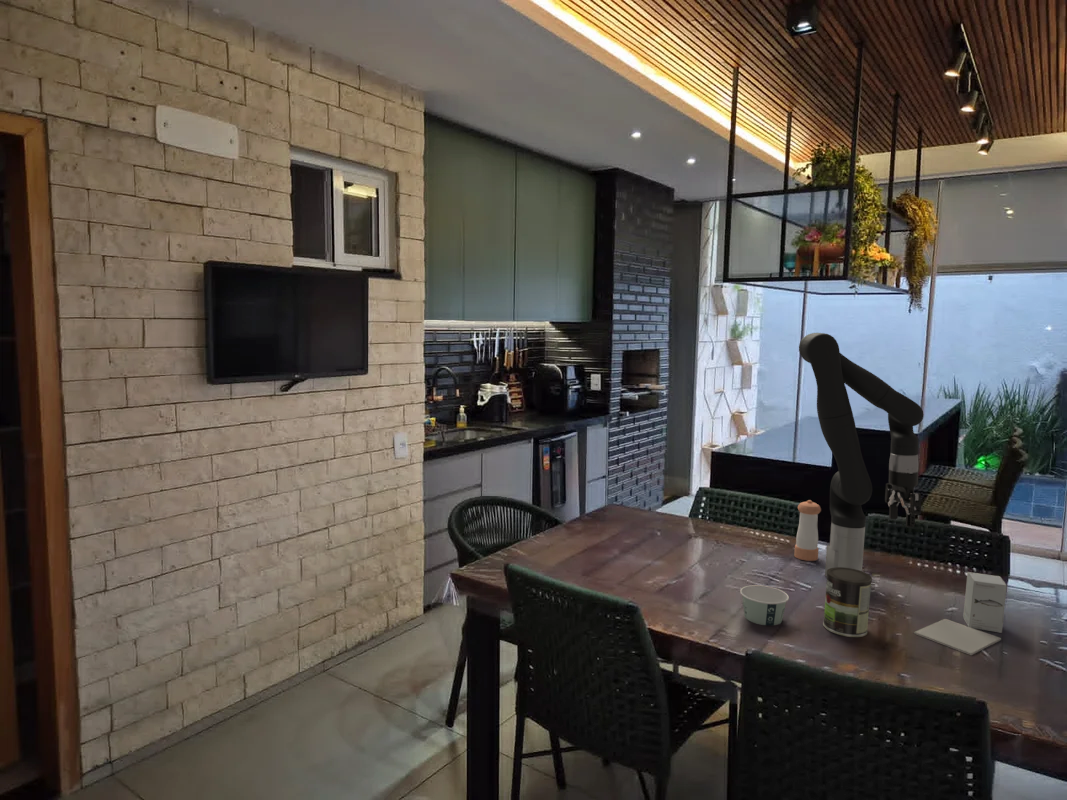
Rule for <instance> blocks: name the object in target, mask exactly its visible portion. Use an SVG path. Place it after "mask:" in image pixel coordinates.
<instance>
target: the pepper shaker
mask: <svg viewBox="0 0 1067 800" xmlns="http://www.w3.org/2000/svg"><path fill="white" fill-rule="evenodd" d="M797 509H798V510H797V511H798V512H799V522H798V527H797V533H796V537H795V538H796V540H795V545H794V552H793V553H794V554H793V556H794V558H796V559H797V560H802V561H805V562H806V561H807V562H815V561H818V559H819V547H818V545H819V530H818V522H819V521H818V517H819V514H820V513H821V512H822V508H821V505H819V504H817V503H816V502H814V501H812V500H811V499H808V500H806V501H802V502H800V503H799V504H798V505H797Z"/></svg>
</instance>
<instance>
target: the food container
mask: <svg viewBox="0 0 1067 800" xmlns="http://www.w3.org/2000/svg"><path fill="white" fill-rule="evenodd" d="M739 593H740V595H741V597H742V606H743V615H744V618H745V619H746V620H747V621H749V622H751V623H753V624H757V625H762V626H769V627H770V626H777V625H780V624H781V623H782V621H783V617H784V614H785V610H786V605H787V602H789V600H790V597H789V595H788V594H787V592H785V591H784V590H782V589H779V588H775V587H772V586H767V585H763V584H762V585H760V584H756V585H755V584H753V585H752V584H751V585H747V586H743V587H742V588H740V590H739Z"/></svg>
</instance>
